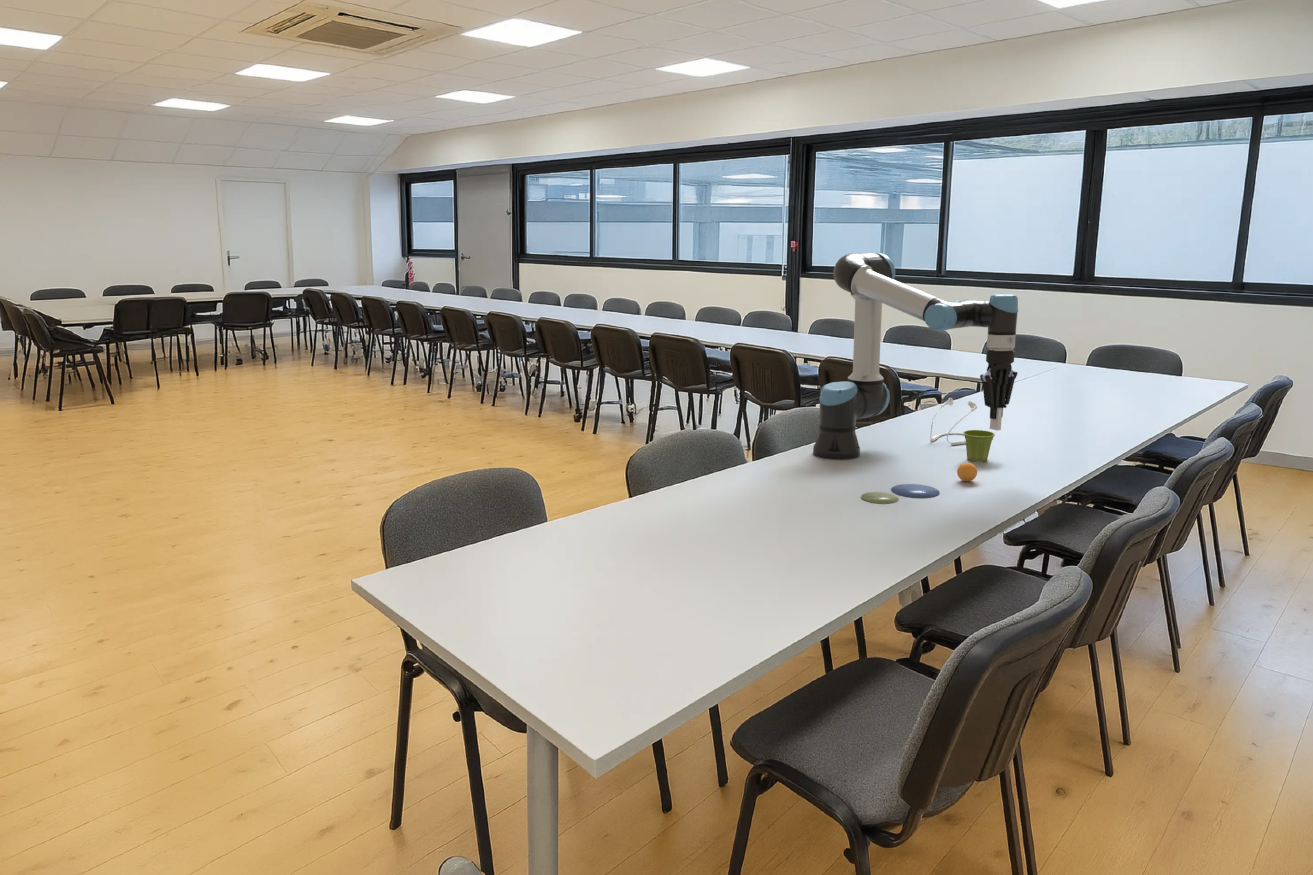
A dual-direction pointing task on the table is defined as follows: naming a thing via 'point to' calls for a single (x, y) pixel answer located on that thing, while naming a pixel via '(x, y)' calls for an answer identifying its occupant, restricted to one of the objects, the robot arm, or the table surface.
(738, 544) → the table surface
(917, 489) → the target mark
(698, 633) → the table surface
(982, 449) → the plant pot
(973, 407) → the earphone
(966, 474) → the ball
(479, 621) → the table surface
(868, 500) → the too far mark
